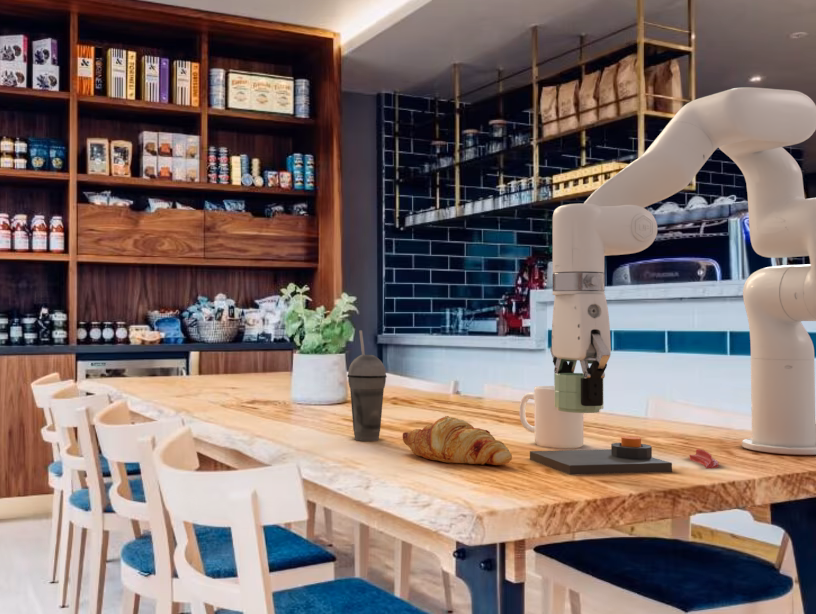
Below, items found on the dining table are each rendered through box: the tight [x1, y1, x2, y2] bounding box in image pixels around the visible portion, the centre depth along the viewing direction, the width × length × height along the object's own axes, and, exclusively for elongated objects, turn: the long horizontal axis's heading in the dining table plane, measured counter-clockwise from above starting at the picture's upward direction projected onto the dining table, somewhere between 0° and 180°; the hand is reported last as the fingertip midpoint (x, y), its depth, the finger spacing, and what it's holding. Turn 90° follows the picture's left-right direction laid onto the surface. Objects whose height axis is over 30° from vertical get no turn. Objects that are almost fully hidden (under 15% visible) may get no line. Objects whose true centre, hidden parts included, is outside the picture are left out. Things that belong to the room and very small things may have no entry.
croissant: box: [402, 415, 513, 466], centre depth 130 cm, size 21×10×8 cm, turn 42°
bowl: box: [553, 372, 605, 414], centre depth 125 cm, size 7×7×6 cm
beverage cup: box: [347, 329, 387, 442], centre depth 153 cm, size 7×7×20 cm
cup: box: [519, 385, 585, 449], centre depth 148 cm, size 8×12×10 cm
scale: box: [529, 442, 673, 476], centre depth 126 cm, size 16×13×3 cm
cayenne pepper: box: [688, 448, 719, 470], centre depth 129 cm, size 12×5×2 cm, turn 149°
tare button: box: [620, 435, 642, 447], centre depth 127 cm, size 3×3×2 cm
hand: (578, 402), depth 125 cm, fingers closed on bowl, 7 cm apart
